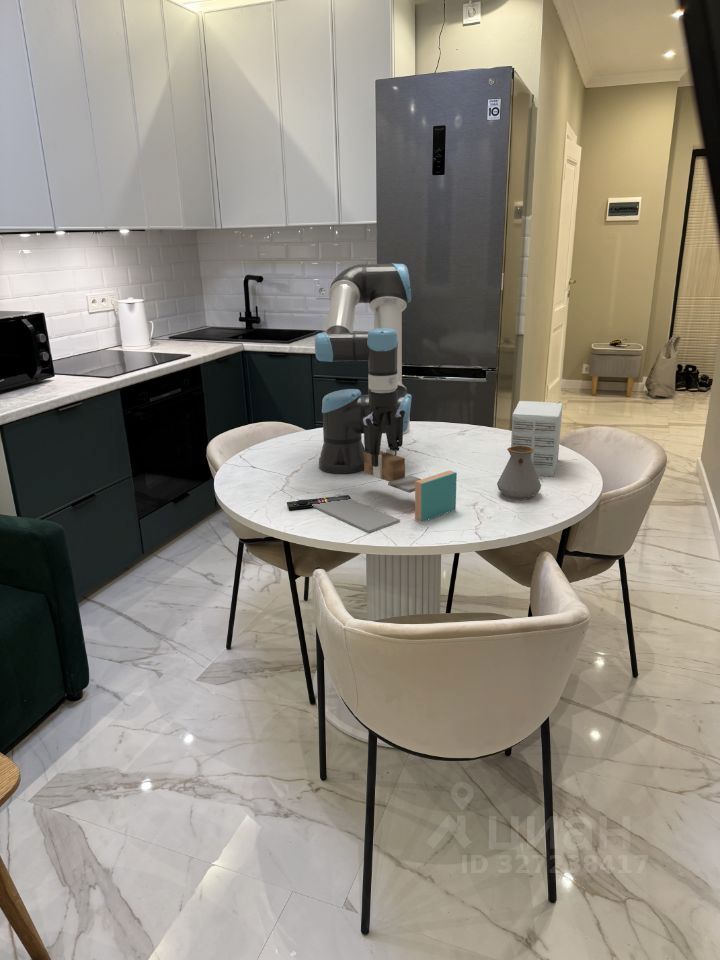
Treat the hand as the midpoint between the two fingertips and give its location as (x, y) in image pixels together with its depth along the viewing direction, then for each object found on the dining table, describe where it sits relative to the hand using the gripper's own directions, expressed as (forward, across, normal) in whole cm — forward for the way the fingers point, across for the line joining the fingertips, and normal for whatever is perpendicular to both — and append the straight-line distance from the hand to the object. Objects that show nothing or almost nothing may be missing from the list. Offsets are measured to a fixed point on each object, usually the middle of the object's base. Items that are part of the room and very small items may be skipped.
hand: (384, 474), depth 181 cm
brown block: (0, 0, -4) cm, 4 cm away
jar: (+6, +46, +45) cm, 65 cm away
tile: (+6, 0, -20) cm, 20 cm away
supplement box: (+6, +49, -13) cm, 51 cm away
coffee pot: (+6, +22, -28) cm, 36 cm away
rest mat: (+6, -15, -5) cm, 17 cm away
